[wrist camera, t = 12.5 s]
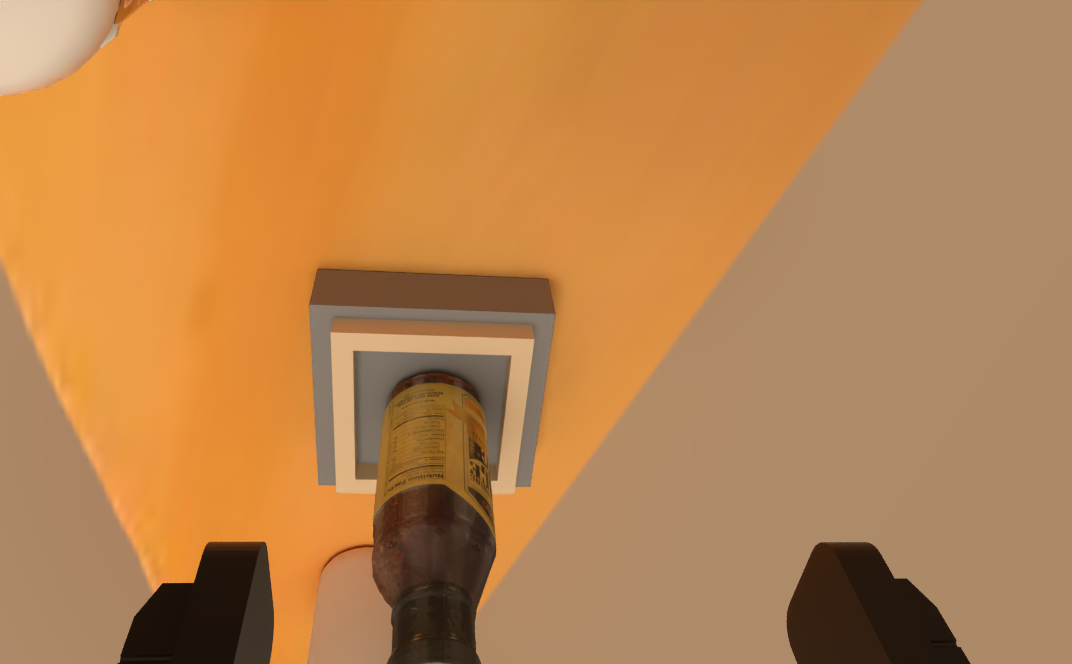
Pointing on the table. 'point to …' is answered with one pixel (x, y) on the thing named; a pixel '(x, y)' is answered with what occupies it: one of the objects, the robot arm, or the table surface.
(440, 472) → the sauce bottle
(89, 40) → the vodka
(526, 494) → the table surface
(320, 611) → the milk bottle
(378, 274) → the tray
